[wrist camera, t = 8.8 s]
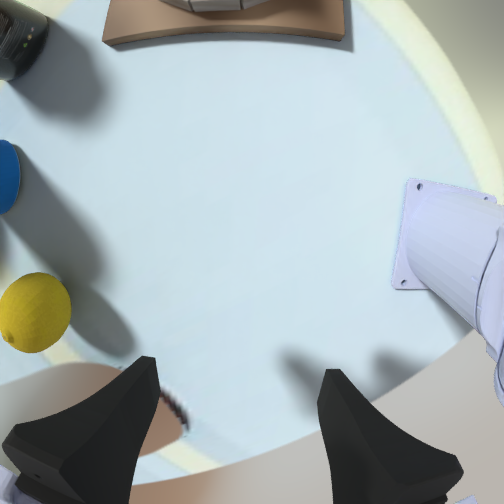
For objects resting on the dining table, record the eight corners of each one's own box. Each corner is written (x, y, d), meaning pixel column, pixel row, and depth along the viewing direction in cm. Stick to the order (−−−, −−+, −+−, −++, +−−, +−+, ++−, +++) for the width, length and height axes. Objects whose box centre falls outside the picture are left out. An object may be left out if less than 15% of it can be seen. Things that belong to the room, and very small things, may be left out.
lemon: (89, 270, 20) (27, 320, 13) (87, 327, 22) (39, 384, 14) (38, 250, 20) (-26, 287, 12) (40, 306, 22) (-12, 351, 14)
